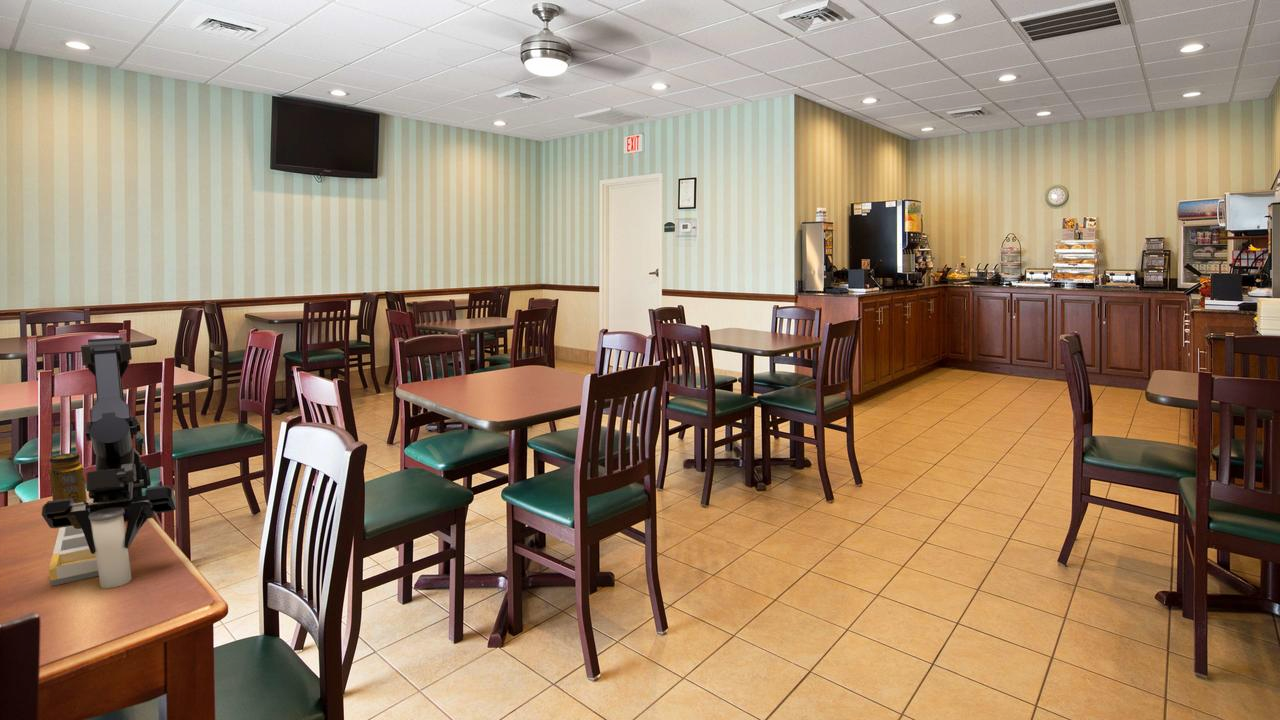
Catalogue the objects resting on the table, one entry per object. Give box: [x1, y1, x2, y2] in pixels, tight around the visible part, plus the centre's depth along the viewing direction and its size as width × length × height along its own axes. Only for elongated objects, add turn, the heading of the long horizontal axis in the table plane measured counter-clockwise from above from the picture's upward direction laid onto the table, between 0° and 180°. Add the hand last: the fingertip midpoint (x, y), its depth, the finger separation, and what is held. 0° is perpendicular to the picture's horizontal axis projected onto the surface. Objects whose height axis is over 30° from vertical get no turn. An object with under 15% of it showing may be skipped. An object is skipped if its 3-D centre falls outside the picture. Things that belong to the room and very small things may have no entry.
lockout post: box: [88, 507, 133, 589], centre depth 124 cm, size 5×5×13 cm
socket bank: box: [48, 526, 99, 587], centre depth 135 cm, size 8×24×3 cm, turn 35°
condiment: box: [48, 452, 93, 503], centre depth 161 cm, size 7×8×12 cm
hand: (109, 550), depth 122 cm, fingers closed on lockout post, 4 cm apart
